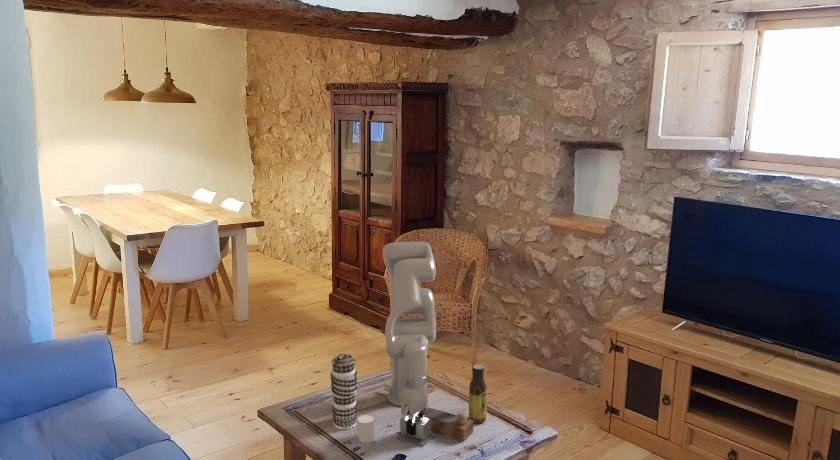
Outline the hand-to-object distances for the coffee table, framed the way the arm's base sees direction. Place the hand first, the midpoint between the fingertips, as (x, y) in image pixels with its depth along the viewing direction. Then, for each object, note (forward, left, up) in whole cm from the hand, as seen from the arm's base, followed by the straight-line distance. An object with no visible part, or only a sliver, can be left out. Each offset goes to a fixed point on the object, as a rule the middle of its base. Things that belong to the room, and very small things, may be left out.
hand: (415, 430), depth 210 cm
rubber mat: (0, 0, -3) cm, 3 cm away
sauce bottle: (+13, +21, -3) cm, 25 cm away
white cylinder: (-14, -9, -3) cm, 17 cm away
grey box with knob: (0, 0, -1) cm, 1 cm away
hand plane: (+6, +9, -3) cm, 12 cm away
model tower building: (-26, -5, -3) cm, 26 cm away
